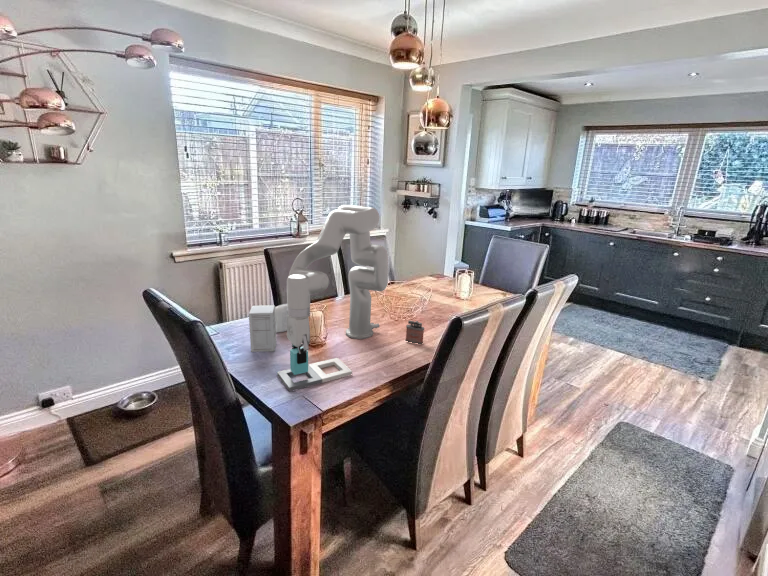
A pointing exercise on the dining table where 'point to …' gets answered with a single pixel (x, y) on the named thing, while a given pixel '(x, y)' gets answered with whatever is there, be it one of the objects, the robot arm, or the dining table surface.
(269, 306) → the supplement box
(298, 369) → the plug
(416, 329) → the lighter
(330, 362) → the panel
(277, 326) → the grey toy tombstone
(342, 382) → the dining table surface
